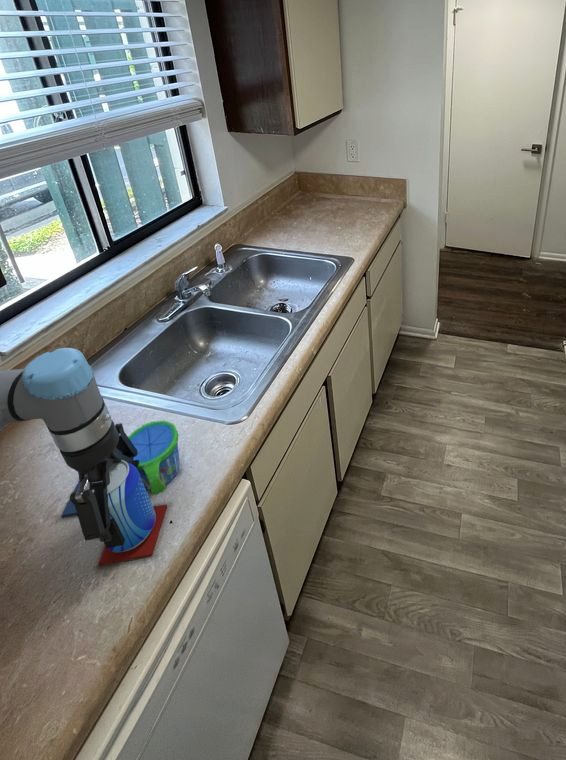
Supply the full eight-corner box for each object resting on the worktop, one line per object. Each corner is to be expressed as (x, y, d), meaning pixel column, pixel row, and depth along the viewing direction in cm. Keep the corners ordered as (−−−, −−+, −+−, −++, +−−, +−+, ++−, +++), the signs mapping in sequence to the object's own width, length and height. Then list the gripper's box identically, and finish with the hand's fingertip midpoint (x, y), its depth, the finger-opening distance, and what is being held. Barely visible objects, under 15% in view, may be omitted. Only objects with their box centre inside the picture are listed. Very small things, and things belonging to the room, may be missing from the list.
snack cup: (188, 496, 89) (176, 463, 85) (129, 519, 85) (114, 486, 81) (187, 435, 102) (177, 404, 98) (136, 453, 98) (123, 422, 94)
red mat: (98, 565, 78) (97, 564, 78) (119, 514, 86) (118, 512, 86) (152, 555, 80) (151, 553, 79) (167, 506, 88) (166, 504, 87)
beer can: (160, 537, 81) (137, 482, 75) (107, 566, 77) (77, 511, 70) (154, 500, 88) (132, 446, 81) (105, 525, 83) (77, 471, 77)
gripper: (79, 493, 62) (125, 579, 72) (135, 381, 81) (165, 461, 91) (20, 502, 61) (75, 589, 71) (91, 386, 80) (126, 467, 89)
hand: (126, 517), depth 81 cm, fingers closed on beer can, 8 cm apart
